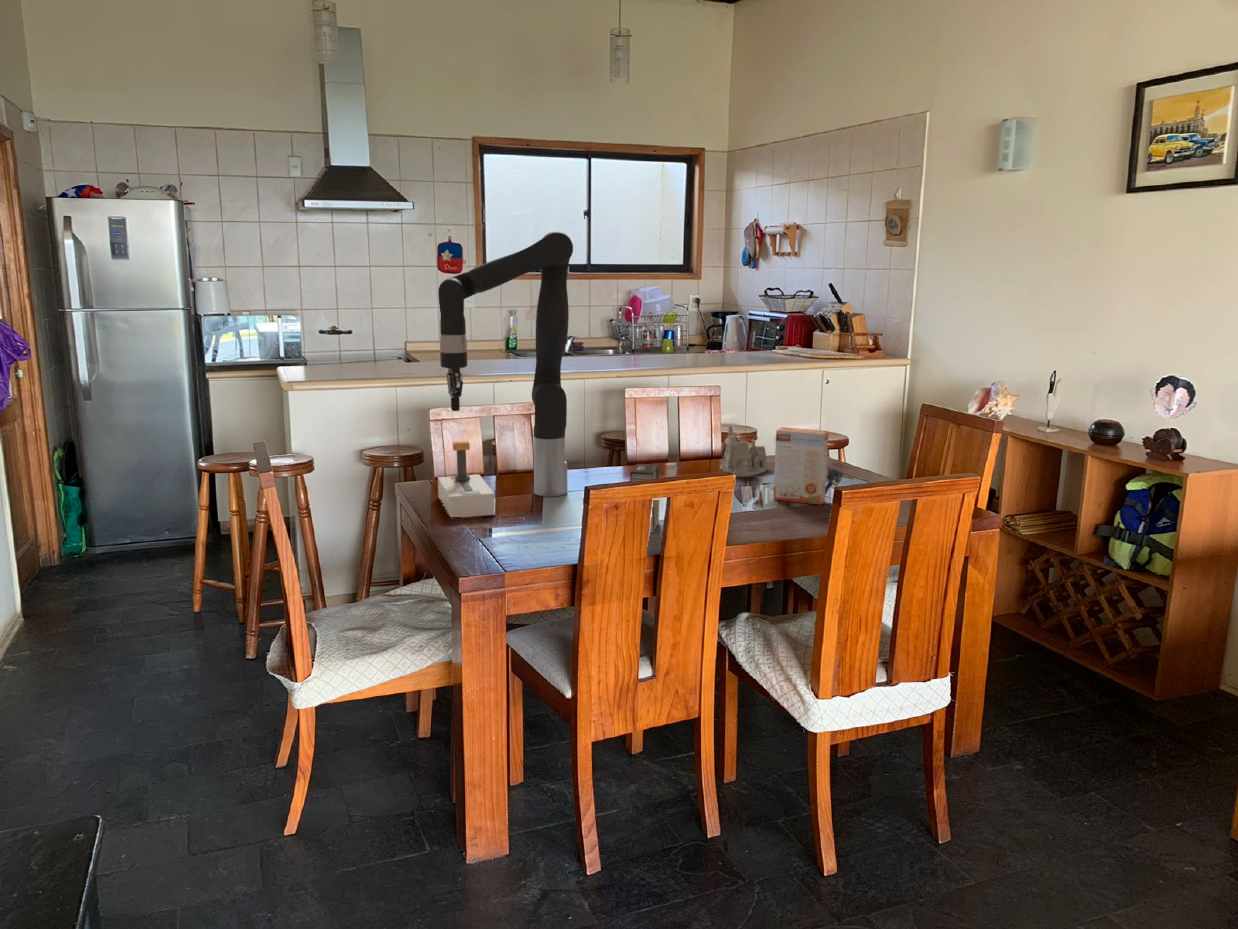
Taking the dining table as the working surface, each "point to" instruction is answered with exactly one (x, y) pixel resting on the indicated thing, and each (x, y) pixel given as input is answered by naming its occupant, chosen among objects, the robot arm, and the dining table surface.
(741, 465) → the ceramic cottage
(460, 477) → the breaker knob
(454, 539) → the dining table surface
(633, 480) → the coffee box
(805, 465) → the cracker box
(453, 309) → the robot arm
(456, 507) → the switch panel
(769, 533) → the dining table surface
